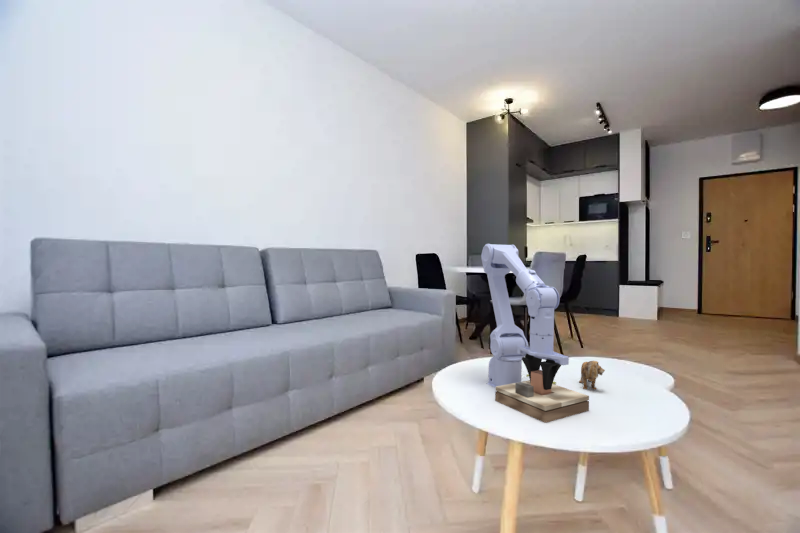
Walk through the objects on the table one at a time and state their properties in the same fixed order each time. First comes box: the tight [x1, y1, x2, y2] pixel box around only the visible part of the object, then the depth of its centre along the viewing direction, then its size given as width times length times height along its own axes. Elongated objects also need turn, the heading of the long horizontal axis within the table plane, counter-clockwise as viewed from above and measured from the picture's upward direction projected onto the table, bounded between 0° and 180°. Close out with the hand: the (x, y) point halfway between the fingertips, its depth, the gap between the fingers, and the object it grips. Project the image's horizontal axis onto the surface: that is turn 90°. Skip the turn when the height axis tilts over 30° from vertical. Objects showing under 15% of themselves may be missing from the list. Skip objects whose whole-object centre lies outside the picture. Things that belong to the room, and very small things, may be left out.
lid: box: [494, 379, 590, 411], centre depth 96 cm, size 16×16×4 cm
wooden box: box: [494, 390, 590, 424], centre depth 96 cm, size 16×16×3 cm
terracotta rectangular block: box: [531, 369, 551, 395], centre depth 96 cm, size 4×4×8 cm
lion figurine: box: [578, 360, 606, 390], centre depth 116 cm, size 15×5×9 cm, turn 170°
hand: (540, 386), depth 96 cm, fingers closed on terracotta rectangular block, 3 cm apart
